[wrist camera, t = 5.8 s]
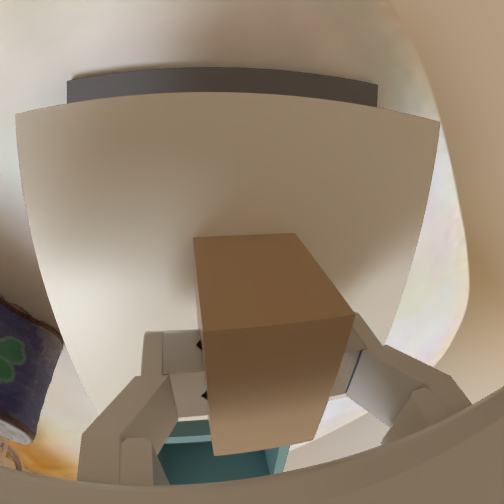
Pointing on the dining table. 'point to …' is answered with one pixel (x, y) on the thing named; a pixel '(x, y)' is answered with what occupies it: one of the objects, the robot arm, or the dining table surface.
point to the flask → (24, 370)
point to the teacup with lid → (2, 446)
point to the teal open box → (212, 458)
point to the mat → (222, 84)
